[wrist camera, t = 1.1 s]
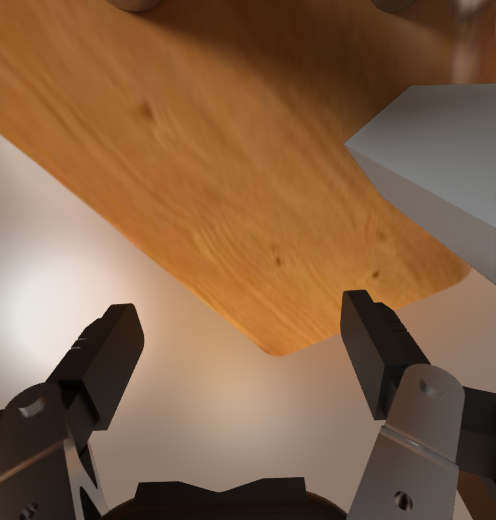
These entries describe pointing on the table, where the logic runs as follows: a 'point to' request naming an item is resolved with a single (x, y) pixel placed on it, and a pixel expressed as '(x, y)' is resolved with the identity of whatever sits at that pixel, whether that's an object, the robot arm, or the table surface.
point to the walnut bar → (475, 496)
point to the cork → (392, 4)
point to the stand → (438, 165)
